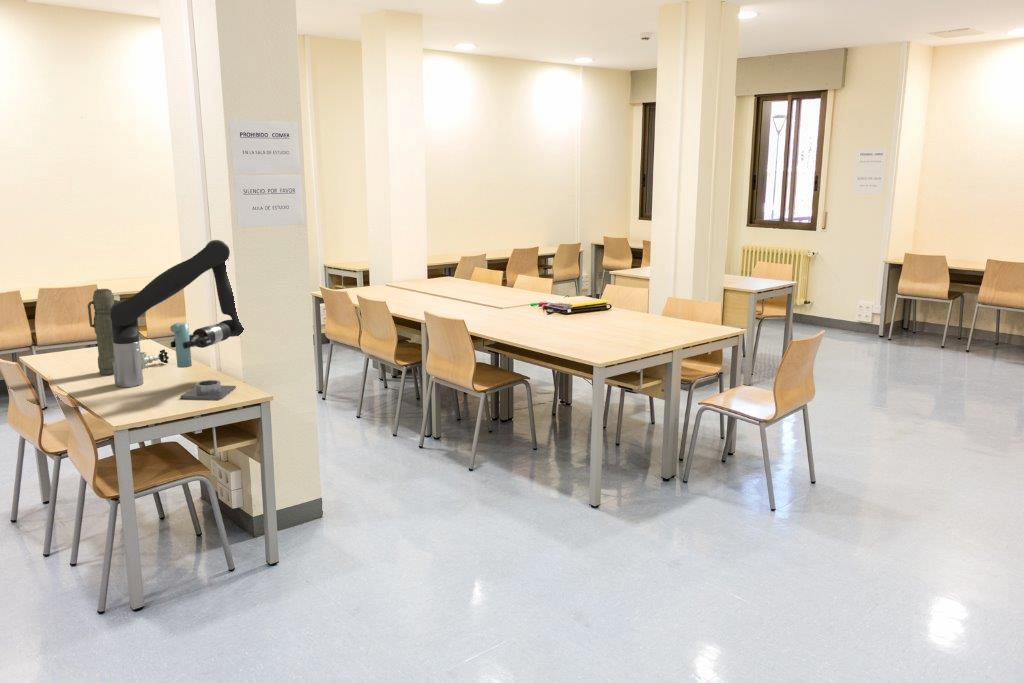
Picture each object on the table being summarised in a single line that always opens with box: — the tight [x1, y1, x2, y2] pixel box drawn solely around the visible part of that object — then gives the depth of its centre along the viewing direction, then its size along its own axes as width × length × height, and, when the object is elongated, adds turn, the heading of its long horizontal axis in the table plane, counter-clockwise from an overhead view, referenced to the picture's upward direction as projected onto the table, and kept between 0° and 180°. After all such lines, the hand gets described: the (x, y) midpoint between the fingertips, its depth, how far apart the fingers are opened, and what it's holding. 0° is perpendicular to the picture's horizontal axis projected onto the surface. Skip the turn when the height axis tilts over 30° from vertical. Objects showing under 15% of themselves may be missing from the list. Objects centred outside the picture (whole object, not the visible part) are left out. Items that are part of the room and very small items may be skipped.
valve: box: [140, 348, 170, 370], centre depth 333 cm, size 7×7×12 cm
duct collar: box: [179, 379, 237, 400], centre depth 293 cm, size 15×15×4 cm
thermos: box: [87, 288, 118, 376], centre depth 319 cm, size 9×12×35 cm
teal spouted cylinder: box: [169, 322, 193, 369], centre depth 287 cm, size 7×5×16 cm
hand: (177, 345), depth 285 cm, fingers closed on teal spouted cylinder, 5 cm apart
